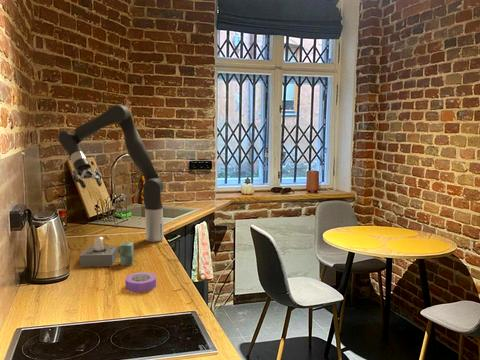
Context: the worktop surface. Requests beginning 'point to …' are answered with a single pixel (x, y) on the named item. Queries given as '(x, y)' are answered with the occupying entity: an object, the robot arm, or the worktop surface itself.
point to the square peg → (126, 253)
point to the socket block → (99, 256)
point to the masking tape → (140, 282)
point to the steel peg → (99, 244)
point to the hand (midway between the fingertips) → (92, 186)
